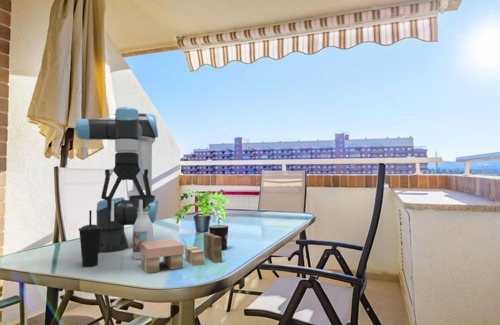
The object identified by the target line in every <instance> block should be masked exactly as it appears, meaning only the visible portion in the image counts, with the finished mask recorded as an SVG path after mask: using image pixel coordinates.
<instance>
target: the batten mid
mask: <svg viewBox="0 0 500 325" xmlns="http://www.w3.org/2000/svg"><path fill="white" fill-rule="evenodd" d="M183 256H184V254H179V255H172V256H164V257H163V264H164V265H166V266H167V267H168V268H169V269H170V270H177V269H183V268H184V263H183V262H184V261H183V260H184V257H183Z"/></svg>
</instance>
